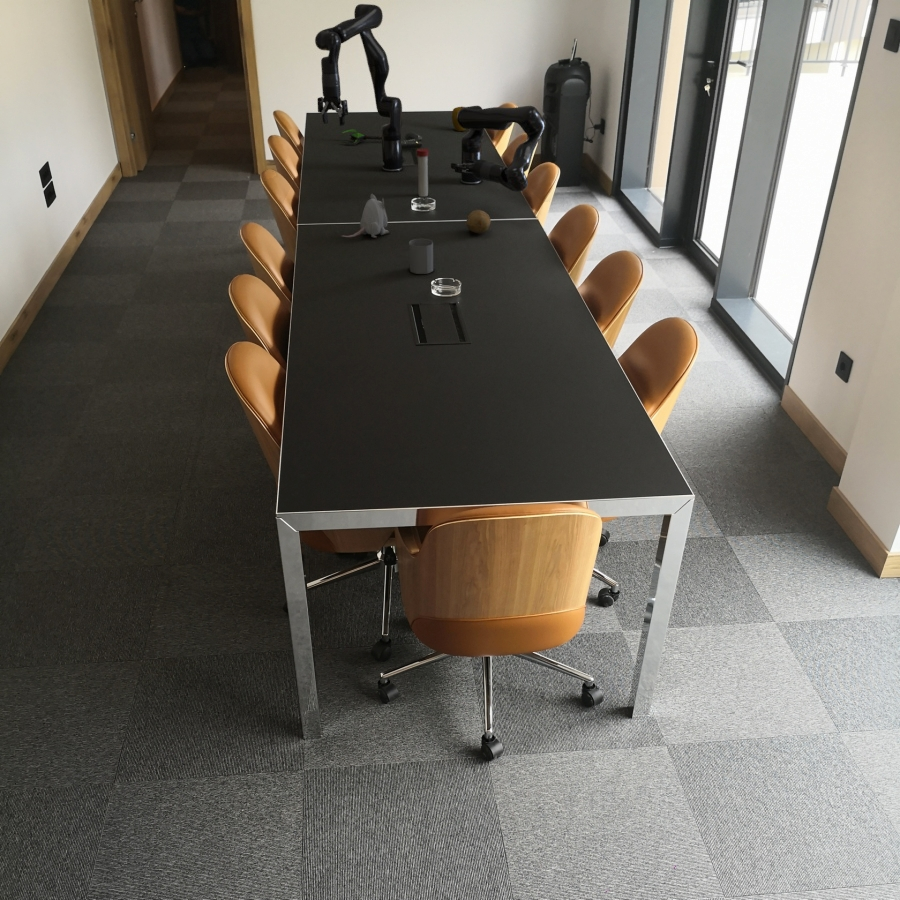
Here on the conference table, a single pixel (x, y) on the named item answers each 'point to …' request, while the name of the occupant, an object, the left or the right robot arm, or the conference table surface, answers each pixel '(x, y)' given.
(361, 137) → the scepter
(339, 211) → the conference table surface
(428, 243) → the cup
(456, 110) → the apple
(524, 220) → the conference table surface
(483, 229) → the potato
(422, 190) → the white tall cylinder
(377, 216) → the toy
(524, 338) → the conference table surface
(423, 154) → the lid
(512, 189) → the right robot arm
